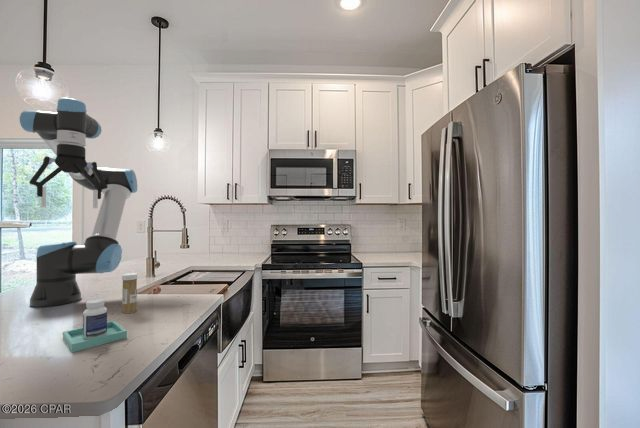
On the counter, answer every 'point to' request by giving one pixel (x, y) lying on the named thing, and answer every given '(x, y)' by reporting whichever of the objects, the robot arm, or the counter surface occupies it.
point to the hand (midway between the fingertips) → (70, 207)
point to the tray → (79, 343)
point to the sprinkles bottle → (129, 292)
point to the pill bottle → (94, 319)
